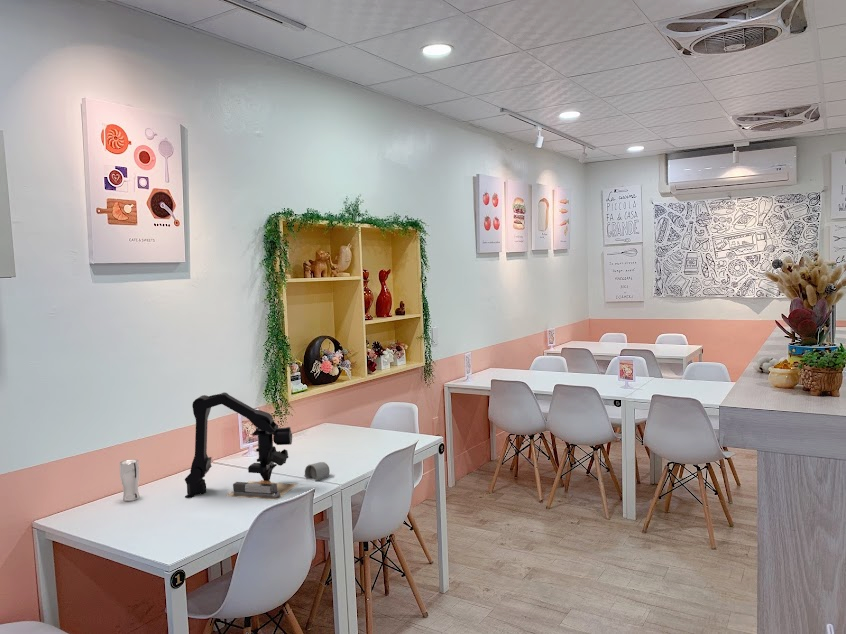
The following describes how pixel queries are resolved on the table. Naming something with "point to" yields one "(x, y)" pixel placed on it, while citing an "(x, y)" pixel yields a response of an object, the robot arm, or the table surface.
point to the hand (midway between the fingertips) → (267, 483)
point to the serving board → (281, 488)
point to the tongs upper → (252, 487)
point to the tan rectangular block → (264, 482)
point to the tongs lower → (256, 494)
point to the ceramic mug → (317, 471)
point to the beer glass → (130, 479)
